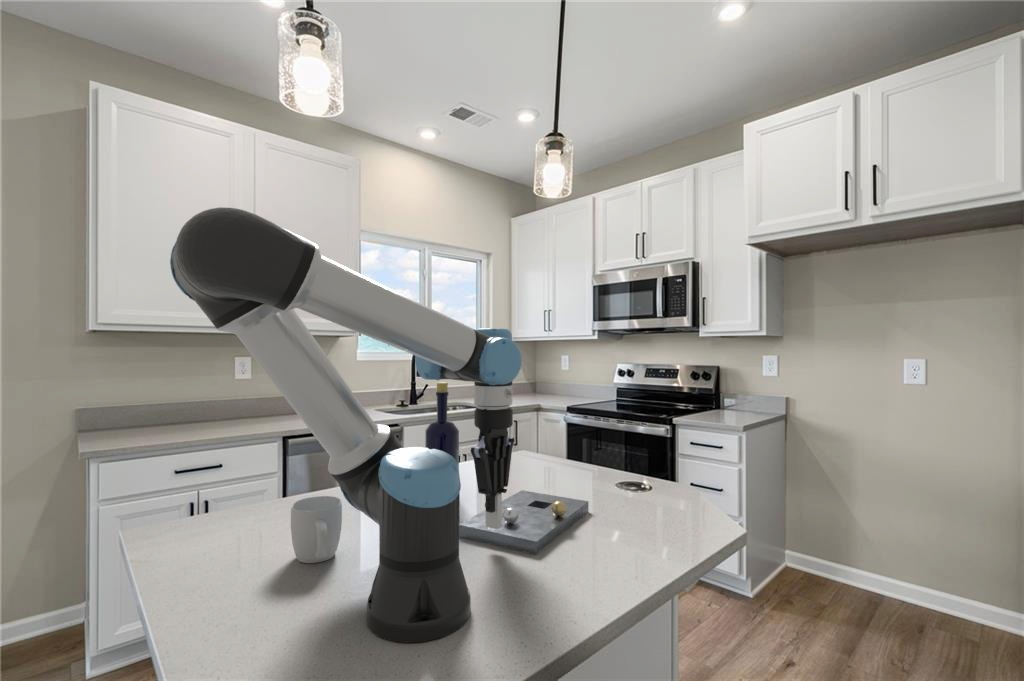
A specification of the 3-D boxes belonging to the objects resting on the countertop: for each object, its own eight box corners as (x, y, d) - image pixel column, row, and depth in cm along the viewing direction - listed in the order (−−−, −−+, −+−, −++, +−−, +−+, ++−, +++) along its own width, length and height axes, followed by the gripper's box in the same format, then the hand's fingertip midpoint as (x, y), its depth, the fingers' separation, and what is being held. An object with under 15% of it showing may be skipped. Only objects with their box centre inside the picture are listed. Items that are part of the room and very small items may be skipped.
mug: (288, 552, 95) (288, 499, 95) (337, 543, 99) (337, 493, 100) (295, 580, 84) (295, 520, 84) (349, 568, 88) (350, 512, 88)
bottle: (462, 495, 132) (463, 381, 132) (455, 506, 123) (456, 384, 123) (428, 493, 133) (429, 381, 133) (418, 504, 124) (419, 383, 124)
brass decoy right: (562, 519, 106) (562, 504, 106) (549, 517, 108) (549, 502, 108) (568, 515, 109) (568, 500, 109) (555, 512, 111) (555, 498, 111)
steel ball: (513, 527, 102) (513, 511, 102) (500, 524, 103) (500, 508, 103) (520, 522, 105) (521, 507, 105) (507, 519, 106) (507, 504, 106)
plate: (536, 554, 94) (536, 541, 94) (458, 536, 103) (458, 524, 103) (588, 511, 119) (588, 501, 119) (521, 500, 128) (521, 490, 128)
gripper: (492, 412, 90) (492, 542, 90) (525, 404, 102) (526, 519, 102) (458, 409, 94) (458, 534, 94) (494, 402, 106) (494, 513, 105)
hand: (493, 526), depth 98 cm, fingers closed
